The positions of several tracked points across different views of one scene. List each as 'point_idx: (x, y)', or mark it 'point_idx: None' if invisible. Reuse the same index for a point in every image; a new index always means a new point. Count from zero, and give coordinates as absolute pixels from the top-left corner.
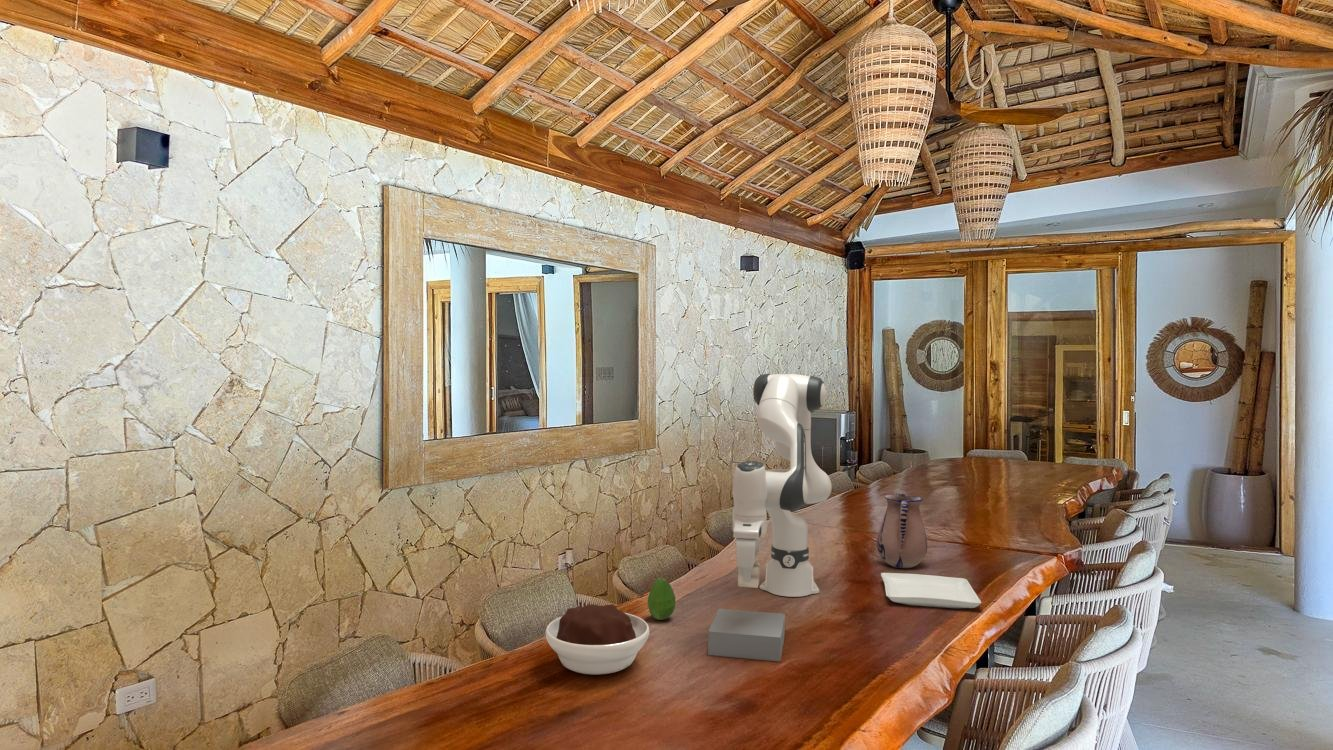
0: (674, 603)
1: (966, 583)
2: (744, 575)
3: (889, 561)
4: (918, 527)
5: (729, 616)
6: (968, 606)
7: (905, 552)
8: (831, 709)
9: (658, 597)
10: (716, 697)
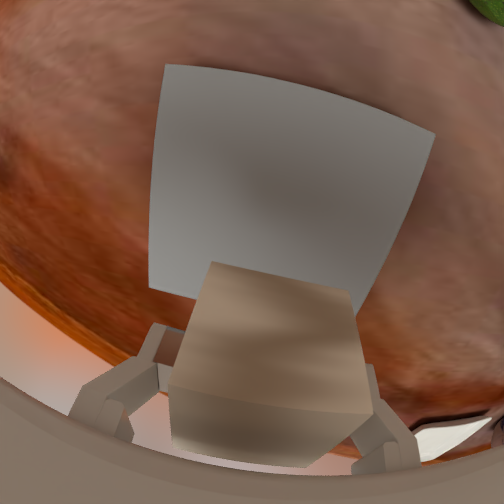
0: (500, 16)
1: (421, 460)
2: (138, 356)
3: None
4: None
5: (345, 157)
6: None
7: (499, 438)
8: (33, 283)
9: None
10: (8, 121)
